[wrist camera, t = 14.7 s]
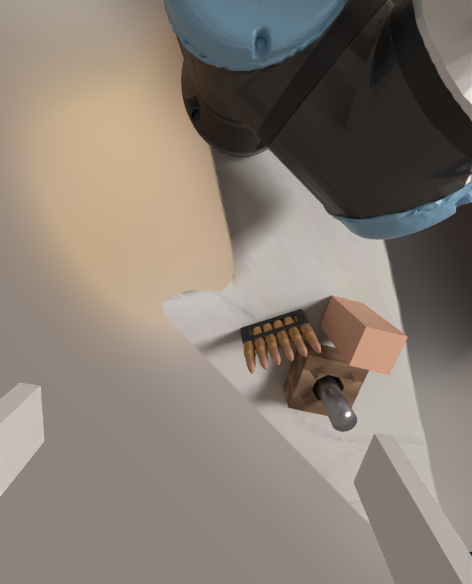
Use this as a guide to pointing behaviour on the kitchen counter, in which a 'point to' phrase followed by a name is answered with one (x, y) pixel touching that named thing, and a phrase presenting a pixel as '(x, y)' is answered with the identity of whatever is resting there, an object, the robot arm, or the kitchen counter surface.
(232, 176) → the kitchen counter surface
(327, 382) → the round peg
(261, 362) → the ammunition clip
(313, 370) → the bore block
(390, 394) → the kitchen counter surface
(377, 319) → the square peg
